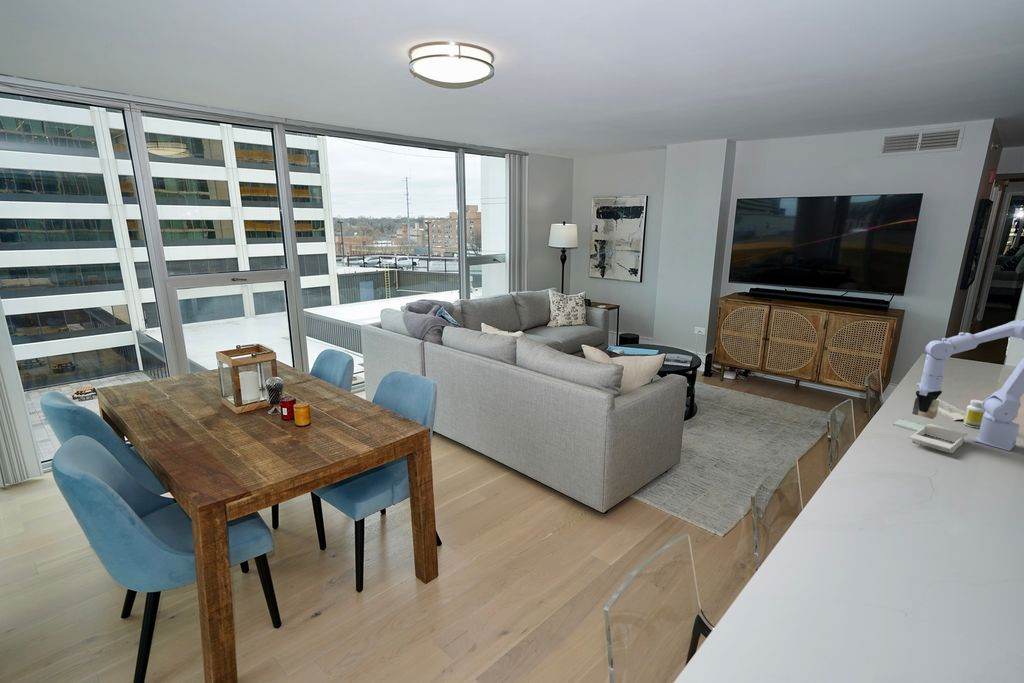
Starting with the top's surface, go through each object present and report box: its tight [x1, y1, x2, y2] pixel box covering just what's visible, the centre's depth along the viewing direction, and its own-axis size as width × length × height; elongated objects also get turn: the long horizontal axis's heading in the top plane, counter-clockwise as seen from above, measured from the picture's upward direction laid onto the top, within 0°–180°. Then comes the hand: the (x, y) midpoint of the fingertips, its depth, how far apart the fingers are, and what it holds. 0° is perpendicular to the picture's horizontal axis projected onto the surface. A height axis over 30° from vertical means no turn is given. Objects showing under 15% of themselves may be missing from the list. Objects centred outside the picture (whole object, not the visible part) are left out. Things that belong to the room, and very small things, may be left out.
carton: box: [908, 422, 968, 454], centre depth 174 cm, size 11×20×3 cm, turn 126°
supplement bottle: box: [962, 399, 985, 429], centre depth 188 cm, size 5×5×10 cm
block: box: [911, 397, 940, 420], centre depth 181 cm, size 6×4×6 cm, turn 37°
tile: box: [892, 418, 925, 432], centre depth 189 cm, size 8×7×1 cm
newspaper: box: [913, 397, 966, 421], centre depth 205 cm, size 23×12×2 cm, turn 176°
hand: (925, 410), depth 181 cm, fingers closed on block, 4 cm apart
